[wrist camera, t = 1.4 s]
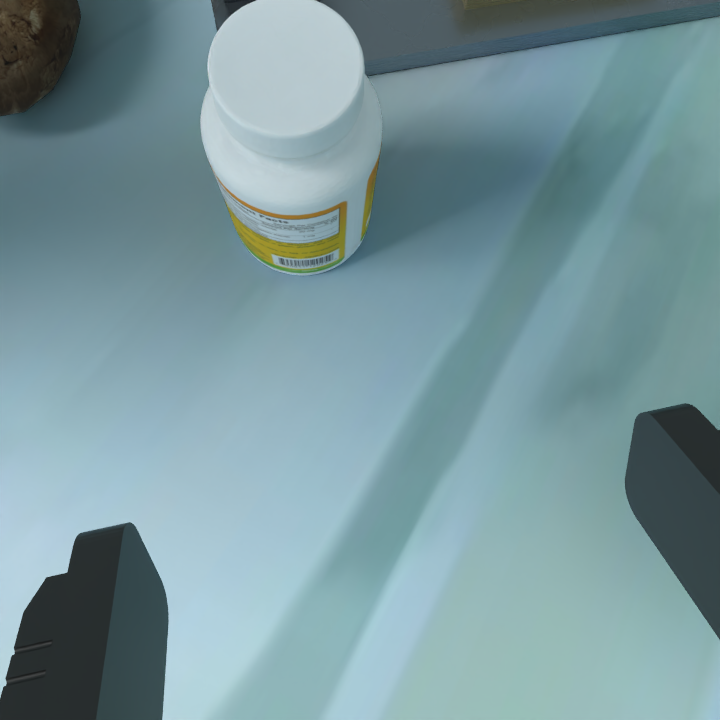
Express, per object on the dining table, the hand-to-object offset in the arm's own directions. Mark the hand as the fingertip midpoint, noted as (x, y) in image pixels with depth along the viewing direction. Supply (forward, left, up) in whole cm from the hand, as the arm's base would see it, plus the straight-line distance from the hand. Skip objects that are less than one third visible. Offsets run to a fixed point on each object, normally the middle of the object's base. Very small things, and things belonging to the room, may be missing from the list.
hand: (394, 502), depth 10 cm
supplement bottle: (-4, +10, -14) cm, 18 cm away
